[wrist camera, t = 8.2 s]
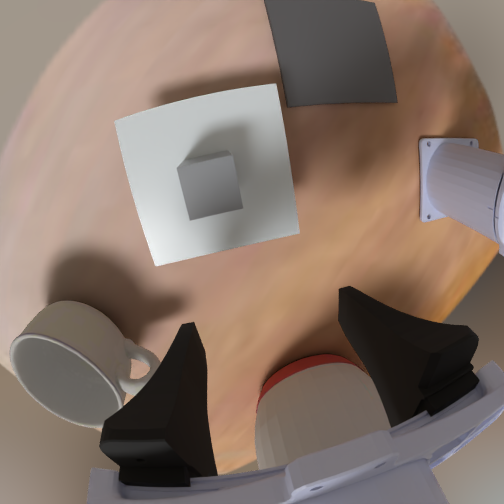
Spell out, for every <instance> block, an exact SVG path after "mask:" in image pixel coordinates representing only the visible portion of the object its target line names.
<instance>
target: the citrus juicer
mask: <svg viewBox="0 0 504 504" xmlns="http://www.w3.org/2000/svg"><path fill="white" fill-rule="evenodd" d="M256 413H257V416H256V423H255V448H256V456H257V462H258V466H259V470H261V469H267V468H272V467H276V466H281V465H285V464H289V463H290V462H292V461H294V460H295V459H297V458H299V457H302V456H305V455H307V454H310V453H313V452H317V451H320V450H323V449H327V448H330V447H333V446H336V445H339V444H342V443H344V442H347V441H350V440H353V439H355V438H358V437H361V436H363V435H366V434H368V433H371V432H374V431H378V430H388V429H390V428H391V426H390V423H389V420H388V417H387V414H386V412H385V409H384V406H383V404H382V401H381V399H380V396H379V394H378V391H377V389H376V387H375V385H374V383H373V380H372V378H370V377H369V376H368V375H367V374H366V373H364V371H363V370H362V369H361V368H360V367H359V366H357V365H356V364H354V363H353V362H351V361H349V360H347V359H346V358H343V357H341V356H338V355H332V354H323V355H315V356H311V357H307V358H303V359H301V360H298V361H295V362H293V363H291V364H289V365H287V366H285V367H283V368H282V369H280V370H279V371H277V372H276V373H275V374H274V375H273V376H271V377H270V378H269V379H268V381H267V382H266V383H265V385H264V386H263V388H262V391H261V393H260V397H259V400H258V404H257V410H256Z"/></svg>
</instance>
